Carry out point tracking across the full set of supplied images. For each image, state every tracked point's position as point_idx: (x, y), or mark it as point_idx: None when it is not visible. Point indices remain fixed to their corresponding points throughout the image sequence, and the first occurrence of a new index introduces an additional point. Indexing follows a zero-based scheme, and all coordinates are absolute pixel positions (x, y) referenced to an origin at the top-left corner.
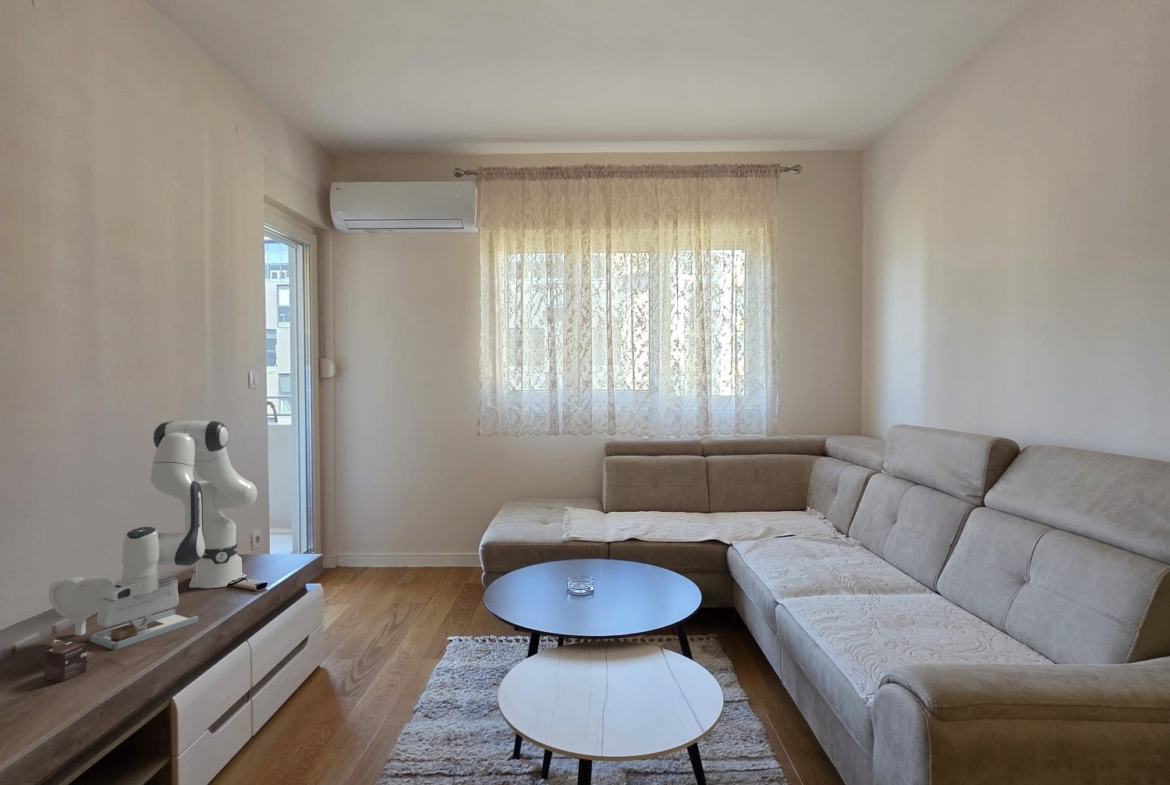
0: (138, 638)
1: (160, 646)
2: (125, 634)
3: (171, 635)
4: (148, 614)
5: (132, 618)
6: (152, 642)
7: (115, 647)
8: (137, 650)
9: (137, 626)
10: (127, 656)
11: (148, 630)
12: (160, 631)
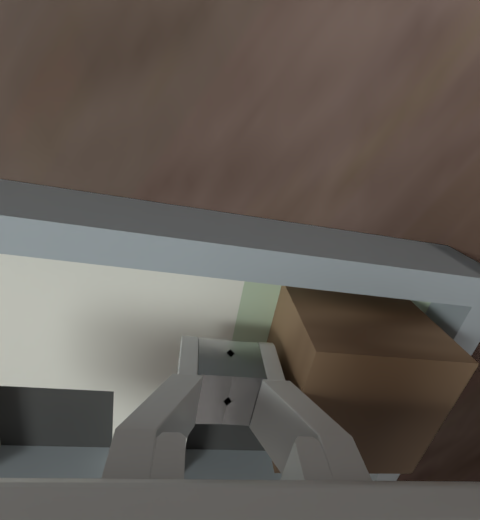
0: (323, 248)
1: (243, 32)
2: (414, 337)
3: (28, 182)
4: (168, 484)
5: (431, 499)
6: (203, 198)
7: (477, 267)
8: (357, 164)
9: (276, 386)
10: (465, 129)
11: (119, 366)
12: (113, 218)
